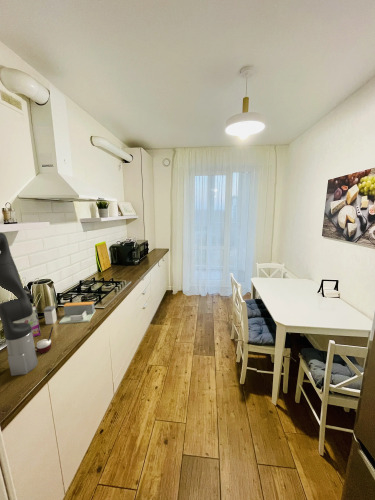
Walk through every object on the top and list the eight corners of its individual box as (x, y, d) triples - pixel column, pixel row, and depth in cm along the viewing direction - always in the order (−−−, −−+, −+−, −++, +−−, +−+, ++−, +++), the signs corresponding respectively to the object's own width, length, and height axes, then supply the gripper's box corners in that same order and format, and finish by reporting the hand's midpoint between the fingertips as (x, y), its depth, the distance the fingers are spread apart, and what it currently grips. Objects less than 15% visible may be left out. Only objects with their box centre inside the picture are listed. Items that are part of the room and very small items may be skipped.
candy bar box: (40, 331, 123) (35, 305, 120) (41, 335, 119) (36, 309, 116) (16, 338, 116) (10, 312, 113) (16, 343, 112) (10, 315, 109)
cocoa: (32, 356, 103) (27, 335, 100) (39, 347, 109) (34, 327, 106) (53, 353, 104) (48, 333, 101) (58, 345, 110) (54, 325, 107)
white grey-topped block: (53, 323, 131) (51, 309, 129) (45, 324, 130) (43, 309, 128) (57, 319, 135) (54, 305, 133) (49, 320, 135) (47, 306, 133)
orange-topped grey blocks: (89, 321, 133) (87, 309, 131) (59, 323, 131) (57, 311, 129) (95, 311, 146) (94, 300, 145) (68, 312, 144) (67, 302, 142)
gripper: (0, 284, 117) (25, 302, 121) (17, 276, 131) (39, 292, 135) (-9, 294, 118) (17, 311, 121) (9, 285, 132) (31, 300, 135)
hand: (28, 301), depth 128 cm, fingers open, 8 cm apart
